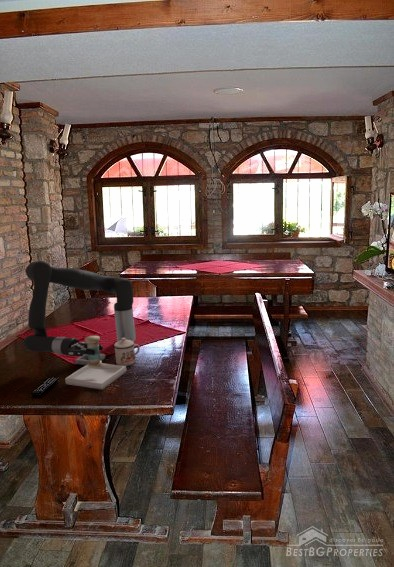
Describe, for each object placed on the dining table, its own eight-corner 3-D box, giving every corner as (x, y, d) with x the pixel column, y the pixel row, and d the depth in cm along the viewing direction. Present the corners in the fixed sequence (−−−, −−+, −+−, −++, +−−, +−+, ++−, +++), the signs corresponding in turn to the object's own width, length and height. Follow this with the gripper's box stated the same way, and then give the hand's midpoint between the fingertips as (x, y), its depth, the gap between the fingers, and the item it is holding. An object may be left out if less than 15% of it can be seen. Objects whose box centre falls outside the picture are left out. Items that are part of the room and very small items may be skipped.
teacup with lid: (121, 368, 199) (118, 343, 196) (112, 362, 206) (109, 338, 204) (145, 360, 206) (143, 336, 203) (135, 355, 213) (133, 332, 210)
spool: (93, 361, 193) (90, 335, 190) (104, 363, 191) (102, 336, 188) (84, 367, 188) (81, 339, 185) (96, 368, 185) (93, 341, 183)
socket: (88, 356, 215) (88, 352, 215) (105, 358, 212) (104, 354, 211) (75, 363, 207) (75, 359, 206) (93, 366, 203) (92, 361, 203)
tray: (92, 367, 202) (91, 361, 201) (126, 371, 195) (126, 366, 194) (65, 384, 186) (65, 378, 185) (102, 389, 179) (101, 383, 178)
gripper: (53, 343, 186) (87, 347, 179) (75, 332, 199) (107, 335, 192) (55, 360, 187) (89, 365, 181) (76, 348, 200) (109, 352, 194)
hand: (98, 350), depth 186 cm, fingers closed on spool, 4 cm apart
